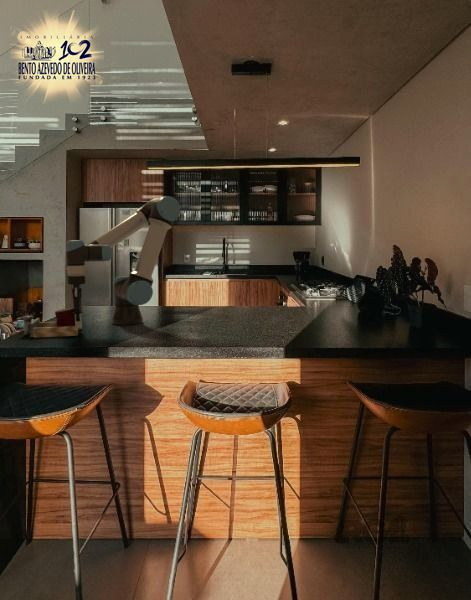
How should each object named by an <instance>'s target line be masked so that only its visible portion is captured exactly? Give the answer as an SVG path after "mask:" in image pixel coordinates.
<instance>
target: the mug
mask: <svg viewBox="0 0 471 600" xmlns="http://www.w3.org/2000/svg"><path fill="white" fill-rule="evenodd" d="M73 312H74V307H68V308H62V309H59V310H56V311H54V314H55V318H56V321H55V322H56V323H57V326H58V327H64V326H75V314H73Z"/></svg>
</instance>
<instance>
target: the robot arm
mask: <svg viewBox="0 0 471 600" xmlns="http://www.w3.org/2000/svg"><path fill="white" fill-rule="evenodd" d="M180 215H181V205H180V203H179V202H178V200H177V199H176V198H175V197H173V196H169V195H168V196H167V195H163V196H161V197H154V198H151V200H149V201H147V202H146V203H145V204H144V205H142V206H141V207H139V208H138V209H136V210H135V213H134V214H133V215H131V216H129V217H127V218H126V219H125V220H123V221H121V222H120V223H119V224H117V225H116V226H113V228H111V229H110V230H108V231H106V232H105V233H103V234H102V235H100V236H98V237H97V238H95V239H94V240H92V241H91V242H89V243H87V244H85V242H84V241H85V240H79V239H78V240H76V239H75V240H74V239H73V240H72V239H71V240H67V241H66V247H65V248H66V249H65V252H66V253H65V254H66V268H65V271H66V272H67V275H68V276H67V285H72V286H73V287H72V288H71V292H72V300H73V308H74V312H73V314H75V326H78V328H81V329H82V328H83V321H82V320H83V319H82V314H83V313H84V311H83V310H82V296H83V295H82V292H83V288H82V287H81V285H85V284H86V283H87V282H86V276H85V275H86V262H87V263H88V262H103V263H104V262H109V261H111V259H112V256H113V252H112V248H114V247H115V246H117V245H118V244H120V243H121V242H123V241H124V240H126V239H127V238H129V237H131V236H132V235H133V234H135V233H136V232H138V231H139V230H141V229H143V228H144V227H145V228H148V229H147V232H146V235H145V238H144V241H143V244H142V246H141V249H140V253H139V255H138V259H137V262H136V264H135V268H134V270H133V271H132V272H130V273H129V274H128V275H127V276H126V275H125V276H118V277H115V278H114V281H113V288H114V289H113V290H114V311H113V314H112V317H111V323H112V325H119V326H130V325H132V326H133V325H138V324H142V323H143V322H144V320H143V319H144V318H143V315H142V311H141V310H140V306H143V305H146V304H147V303H148V302H150V301H151V299H152V297H153V294H154V290H153V289H154V288H153V283H154V279H153V277H152V276H153V273H154V270H155V268H156V266H157V262H158V258H159V256H160V252H161V250H162V246H163V243H164V241H165V238H166V236H167V232H168V230H171V229H172V228H173V224H174V221H176V220H177V219H178V218H179V217H180Z"/></svg>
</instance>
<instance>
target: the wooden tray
mask: <svg viewBox="0 0 471 600" xmlns="http://www.w3.org/2000/svg"><path fill="white" fill-rule="evenodd" d="M56 322H57V321H45V322H44V321H42V322H41V319H40V317H36V318H35V319H34V320H32V322H31V323H30V335H29V336H30V338H31V337H34V338H52V337H53V338H54V337H72V336H75V337H76V336H79V331H81V330H82V328H78V326H64V327H58V326H57V323H56Z"/></svg>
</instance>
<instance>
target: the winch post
mask: <svg viewBox="0 0 471 600" xmlns="http://www.w3.org/2000/svg"><path fill="white" fill-rule="evenodd" d="M21 319H22V320H23V322H24V323H23V327H24V336H31V335H30V323H31V322H33V319H34V316H33V315H24V316H22V317H21Z"/></svg>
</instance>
